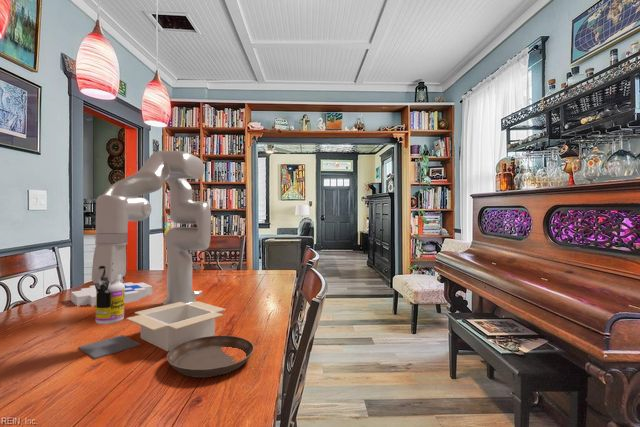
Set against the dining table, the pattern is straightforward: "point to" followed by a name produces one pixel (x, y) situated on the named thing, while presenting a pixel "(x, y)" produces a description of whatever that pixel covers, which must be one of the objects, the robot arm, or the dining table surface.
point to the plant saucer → (208, 356)
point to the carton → (177, 323)
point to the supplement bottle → (112, 304)
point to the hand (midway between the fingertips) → (110, 303)
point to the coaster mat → (108, 346)
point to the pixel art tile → (131, 294)
